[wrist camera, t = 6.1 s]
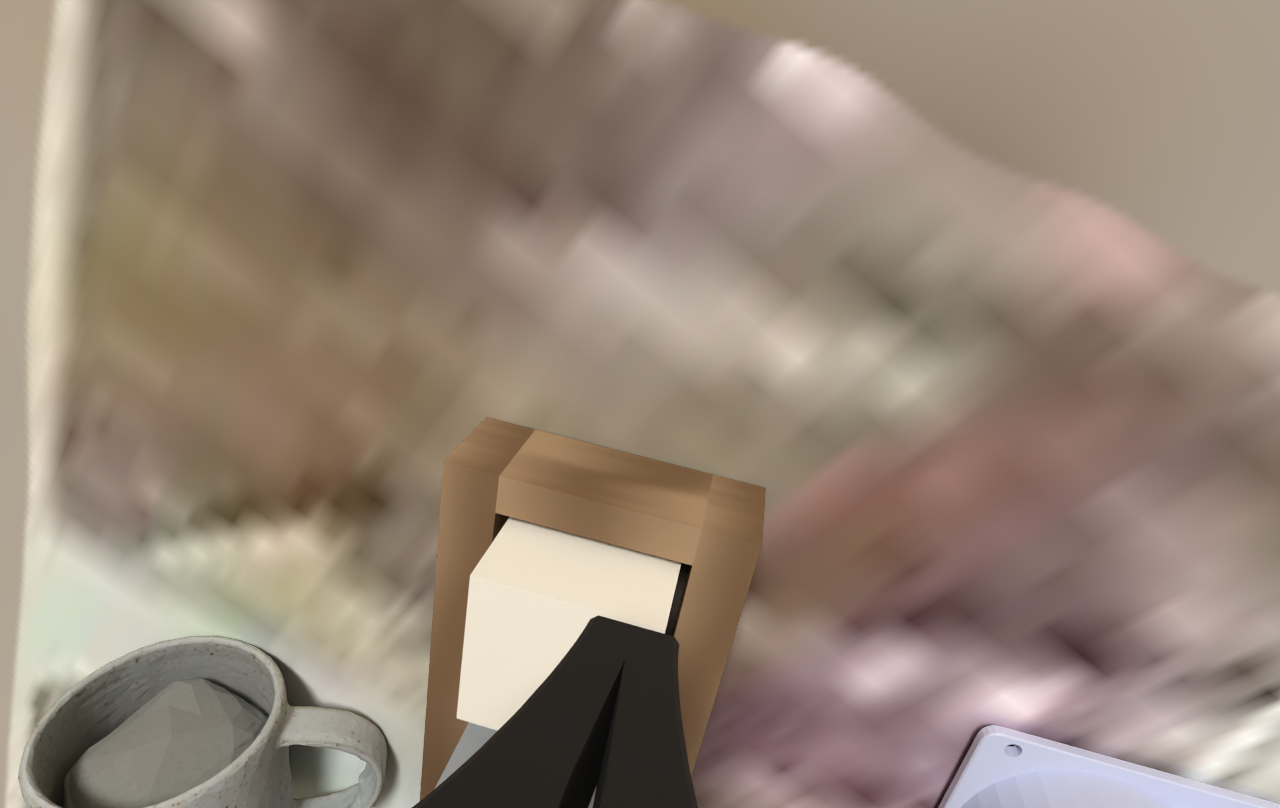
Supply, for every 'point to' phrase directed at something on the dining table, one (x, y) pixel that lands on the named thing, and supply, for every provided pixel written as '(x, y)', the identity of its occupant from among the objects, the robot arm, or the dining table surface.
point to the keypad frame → (605, 511)
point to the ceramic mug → (189, 735)
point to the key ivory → (547, 610)
